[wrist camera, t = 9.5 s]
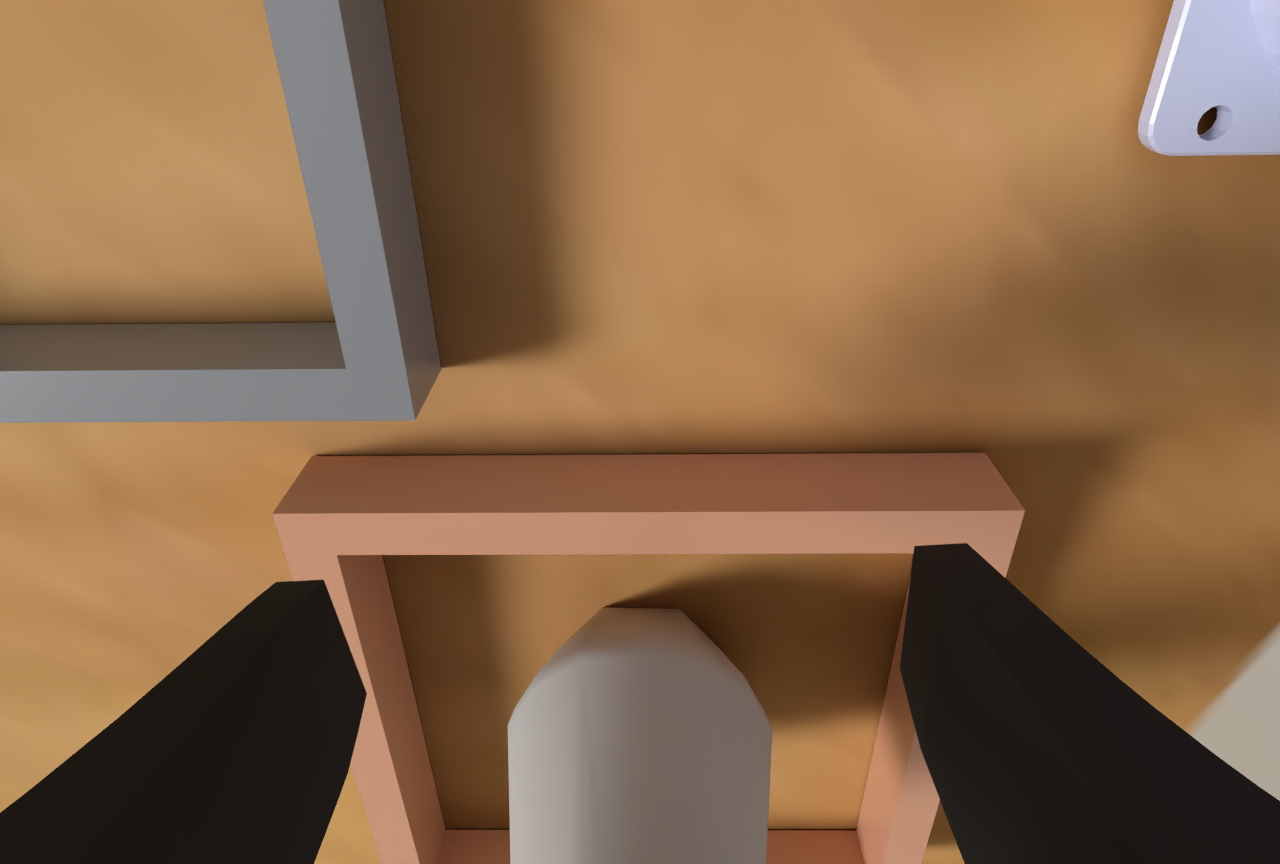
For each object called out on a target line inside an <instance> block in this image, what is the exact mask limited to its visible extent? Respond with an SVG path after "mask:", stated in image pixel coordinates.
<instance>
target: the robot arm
mask: <svg viewBox="0 0 1280 864" xmlns="http://www.w3.org/2000/svg"><path fill="white" fill-rule="evenodd" d="M1211 107H1216V108H1217V119H1216V120H1215V122H1214V124H1213V125H1212V127H1211V128H1210V129H1209V130H1207V131H1206V132H1205V133H1204V134H1201V135H1198V133H1197V125H1198V122H1199V120H1200V118H1201V117H1202V115H1203V114H1204V113H1205V112H1206V111H1208V110H1209V109H1210V108H1211ZM1138 135H1139V138H1140V141H1141V143H1142V144H1143V145H1144V146H1145V147H1147V148H1148V149H1149V150H1151V151H1154V152H1157V153H1159V154H1164V155H1169V156H1203V155H1280V0H1174V2H1173V6H1172V9H1171V13H1170V16H1169V19H1168V23H1167V26H1166V30H1165V33H1164V36H1163V40H1162V43H1161V47H1160V50H1159V53H1158V57H1157V60H1156V64H1155V67H1154V70H1153V74H1152V77H1151V81H1150V84H1149V88H1148V91H1147V94H1146V98H1145V101H1144V105H1143V108H1142V111H1141V115H1140V118H1139V124H1138ZM900 671H901V675H902V679H903V683H904V687H905V691H906V695H907V699H908V703H909V707H910V711H911V715H912V719H913V723H914V726H915V730H916V734H917V737H918V741H919V745H920V748H921V751H922V754H923V756H924V759H925V762H926V764H927V767H928V770H929V772H930V775H931V778H932V780H933V783H934V785H935V788H936V791H937V793H938V796H939V798H940V801H941V804H942V806H943V809H944V811H945V814H946V817H947V819H948V822H949V824H950V827H951V829H952V832H953V835H954V837H955V840H956V842H957V845H958V847H959V850H960V852H961V855H962V858H963V860H964V863H965V864H1280V801H1279V800H1277V799H1276V798H1274V797H1273V796H1271V795H1270V794H1268V793H1267V792H1266V791H1264V790H1263V789H1261V788H1260V787H1258V786H1257V785H1256V784H1254V783H1253V782H1252V781H1250V780H1249V779H1247V778H1246V777H1245V776H1243V775H1242V774H1241V773H1239V772H1238V771H1237V770H1235V769H1234V768H1232V767H1231V766H1230V765H1228V764H1227V763H1225V762H1224V761H1223V760H1222V759H1220V758H1219V757H1218V756H1216V755H1215V754H1214V753H1212V752H1211V751H1210V750H1208V749H1207V748H1205V746H1203V745H1202V744H1201V743H1199V742H1198V741H1197V740H1195V739H1194V738H1193V737H1192V736H1190V735H1189V734H1188V733H1186V732H1185V731H1184V730H1183V729H1181V728H1180V727H1179V726H1177V725H1176V724H1175V723H1174V722H1172V721H1171V720H1170V719H1168V718H1167V717H1166V716H1165V715H1163V714H1162V713H1161V712H1159V711H1158V710H1157V709H1156V708H1154V707H1153V706H1152V705H1151V704H1149V703H1148V702H1147V701H1146V700H1144V699H1143V698H1142V697H1141V696H1140V695H1138V694H1137V693H1136V692H1135V691H1133V690H1132V689H1131V688H1130V687H1129V686H1127V685H1126V684H1125V683H1124V682H1122V681H1121V680H1120V679H1119V678H1118V677H1117V676H1115V675H1114V674H1113V673H1112V672H1111V671H1110V670H1108V669H1107V668H1106V667H1105V666H1104V665H1103V664H1101V663H1100V662H1099V661H1098V660H1097V659H1096V658H1094V657H1093V656H1092V655H1091V654H1090V653H1088V652H1087V651H1086V650H1085V649H1084V648H1083V647H1081V646H1080V645H1079V644H1078V643H1077V642H1076V641H1075V640H1073V639H1072V638H1071V637H1070V636H1069V635H1068V634H1067V633H1066V632H1064V631H1063V630H1062V629H1061V628H1060V627H1059V626H1058V625H1056V624H1055V623H1054V622H1053V621H1052V620H1051V619H1050V618H1049V617H1048V616H1047V615H1045V614H1044V613H1043V612H1042V611H1041V610H1040V609H1039V608H1038V607H1037V606H1035V605H1034V604H1033V603H1032V602H1031V601H1030V600H1029V599H1028V598H1027V597H1026V596H1024V595H1023V594H1022V593H1021V592H1020V591H1019V590H1018V589H1017V588H1016V587H1015V586H1013V585H1012V584H1011V583H1010V582H1009V581H1008V580H1007V579H1006V578H1005V577H1004V576H1003V575H1001V574H1000V573H999V572H998V571H997V570H996V569H995V568H994V567H993V566H992V565H990V564H989V563H988V562H987V561H986V560H985V559H984V558H983V557H982V556H981V555H980V554H978V553H977V552H976V551H975V550H974V549H973V548H972V547H971V546H970V545H968V544H967V543H958V544H940V545H923V546H914V553H913V562H912V570H911V578H910V586H909V594H908V603H907V611H906V619H905V627H904V636H903V644H902V652H901V660H900ZM366 696H367V693H366V690H365V687H364V685H363V682H362V679H361V677H360V674H359V671H358V669H357V666H356V663H355V661H354V658H353V656H352V653H351V650H350V648H349V645H348V642H347V640H346V637H345V634H344V632H343V629H342V626H341V624H340V621H339V619H338V616H337V613H336V611H335V608H334V605H333V603H332V600H331V597H330V595H329V592H328V589H327V587H326V584H325V582H324V580H307V581H289V582H276V583H275V584H273V585H272V586H271V587H270V588H268V589H267V590H266V591H264V592H263V593H262V594H261V595H259V596H258V597H257V598H256V599H255V600H253V601H252V602H251V603H250V604H249V605H248V606H246V607H245V608H244V609H243V610H242V611H241V612H239V613H238V614H237V615H236V616H235V617H234V618H233V619H231V620H230V621H229V622H228V623H227V624H226V625H224V626H223V627H222V628H221V629H220V630H219V631H218V632H217V633H215V634H214V635H213V636H212V637H211V638H210V639H209V640H207V641H206V642H205V643H204V644H203V645H202V646H201V647H199V648H198V649H197V650H196V651H195V652H194V653H193V654H192V655H190V656H189V657H188V658H187V659H186V660H185V661H184V662H182V663H181V664H180V665H179V666H178V667H177V668H176V669H174V670H173V671H172V672H171V673H170V674H169V675H167V676H166V677H165V678H164V679H163V680H162V681H161V682H159V683H158V684H157V685H156V686H155V687H154V688H152V689H151V690H150V691H149V692H148V693H147V694H146V695H144V696H143V697H142V698H141V699H140V700H139V701H137V702H136V703H135V704H134V705H133V706H132V707H131V708H129V709H128V710H127V711H126V712H125V713H124V714H122V715H121V716H120V717H119V718H118V719H117V720H115V721H114V722H113V723H112V724H110V725H109V726H108V727H107V728H105V729H104V730H103V731H102V732H101V733H99V734H98V735H97V736H96V737H94V738H93V739H92V740H91V741H89V742H88V743H87V744H86V745H85V746H83V747H82V748H81V749H80V750H78V751H77V752H76V753H75V754H73V755H72V756H71V757H70V758H69V759H67V760H66V761H65V762H64V763H62V764H61V765H60V766H59V767H57V768H56V769H55V770H54V771H53V772H51V773H50V774H49V775H48V776H46V777H45V778H44V779H43V780H41V781H40V782H39V783H38V784H37V785H35V786H34V787H33V788H32V789H30V790H29V791H28V792H27V793H25V794H24V795H23V796H22V797H20V798H19V799H18V800H16V801H15V802H14V803H13V804H11V805H10V806H9V807H7V808H6V809H5V810H3V811H2V812H1V813H0V864H314V862H315V859H316V856H317V854H318V851H319V849H320V846H321V843H322V841H323V838H324V836H325V833H326V830H327V828H328V825H329V822H330V820H331V817H332V814H333V812H334V809H335V806H336V804H337V801H338V798H339V796H340V793H341V790H342V787H343V785H344V782H345V779H346V776H347V774H348V770H349V766H350V762H351V758H352V755H353V751H354V747H355V743H356V739H357V735H358V731H359V726H360V722H361V718H362V713H363V709H364V704H365V700H366Z"/></svg>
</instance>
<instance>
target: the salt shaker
mask: <svg viewBox="0 0 1280 864" xmlns="http://www.w3.org/2000/svg"><path fill="white" fill-rule="evenodd" d="M771 744H772V730H771V727H770V724H769V721H768V718H767V716H766V713H765V711H764V709H763V707H762V706H761V704H760V702H759V700H758V699H757V697H756V695H755V694H754V692H753V690H752V689H751V687H750V685H749V684H748V682H747V680H746V678H745V677H744V675H743V674H742V673H741V672H740V671H739V670H738V669H737V668H736V667H735V666H734V665H733V664H732V662H731V661H730V660H729V659H728V658H727V657H726V655H725V654H724V652H723V651H722V650H721V649H720V648H719V647H718V646H717V645H716V644H715V643H714V642H713V641H712V640H711V639H710V638H709V637H708V636H707V635H706V634H705V633H704V632H703V631H702V630H701V629H700V628H699V627H698V626H697V625H696V624H695V623H694V622H693V621H692V620H691V619H690V618H689V617H688V616H687V615H686V614H685V613H684V612H683V611H682V610H681V609H663V608H611V607H603V608H602V609H601V610H600V611H599V612H598V613H597V614H596V615H594V616H593V617H592V618H591V619H590V620H589V621H588V622H587V623H586V624H585V625H584V626H583V627H582V628H580V629H579V630H578V631H577V632H576V633H575V634H574V635H573V636H572V637H571V638H570V639H569V640H567V641H566V642H565V643H564V644H563V645H562V646H561V647H560V648H559V649H558V650H557V651H556V652H555V654H554V655H553V656H552V658H551V659H550V660H549V661H548V662H547V663H546V664H545V665H544V666H543V667H542V668H541V669H540V670H539V671H538V673H537V674H536V676H535V677H534V679H533V680H532V682H531V683H530V685H529V686H528V688H527V689H526V691H525V692H524V694H523V696H522V697H521V699H520V700H519V702H518V703H517V705H516V706H515V708H514V711H513V714H512V716H511V719H510V721H509V724H508V766H509V815H510V864H766V854H767V832H768V810H769V788H770V766H771Z"/></svg>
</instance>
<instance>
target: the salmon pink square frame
mask: <svg viewBox="0 0 1280 864" xmlns="http://www.w3.org/2000/svg"><path fill="white" fill-rule="evenodd" d="M1024 513H1025V510H1024V508H1023V507H1022V505H1021V504H1020V502H1019V501H1018V499H1017V498H1016V496H1015V495H1014V494H1013V492H1012V491H1011V489H1010V488H1009V486H1008V485H1007V483H1006V482H1005V480H1004V479H1003V478H1002V476H1001V475H1000V473H999V472H998V470H997V469H996V467H995V466H994V464H993V463H992V461H991V460H990V459H989V457H988V456H987V454H986V453H837V454H646V455H454V456H312V457H311V458H310V460H309V461H308V462H307V464H306V465H305V467H304V468H303V470H302V471H301V473H300V474H299V476H298V477H297V479H296V480H295V481H294V483H293V484H292V486H291V487H290V489H289V490H288V492H287V493H286V495H285V496H284V498H283V499H282V501H281V502H280V503H279V505H278V506H277V508H276V509H275V511H274V512H273V517H274V520H275V523H276V527H277V530H278V533H279V536H280V539H281V543H282V546H283V549H284V552H285V555H286V559H287V562H288V565H289V568H290V572H291V575H292V578H293V581H307V580H324V582H325V584H326V587H327V589H328V592H329V595H330V597H331V600H332V603H333V605H334V608H335V611H336V613H337V616H338V619H339V621H340V624H341V626H342V629H343V632H344V634H345V637H346V640H347V642H348V645H349V648H350V650H351V653H352V656H353V658H354V661H355V663H356V666H357V669H358V671H359V674H360V677H361V679H362V682H363V685H364V687H365V690H366V693H367V696H366V700H365V704H364V709H363V713H362V718H361V722H360V726H359V731H358V735H357V739H356V743H355V747H354V751H353V755H352V758H351V762H350V764H351V767H352V771H353V774H354V777H355V780H356V783H357V787H358V790H359V793H360V796H361V800H362V803H363V806H364V809H365V812H366V816H367V819H368V822H369V825H370V828H371V832H372V835H373V838H374V841H375V844H376V848H377V851H378V854H379V857H380V861H381V864H510V830H445V825H444V821H443V817H442V812H441V808H440V804H439V799H438V795H437V791H436V786H435V782H434V778H433V773H432V769H431V765H430V760H429V756H428V752H427V747H426V743H425V739H424V734H423V730H422V726H421V721H420V717H419V713H418V708H417V704H416V700H415V695H414V691H413V687H412V682H411V678H410V674H409V669H408V665H407V661H406V656H405V652H404V648H403V643H402V639H401V635H400V630H399V626H398V622H397V617H396V613H395V609H394V604H393V600H392V596H391V591H390V587H389V583H388V578H387V574H386V570H385V565H384V561H383V557H382V555H526V554H824V553H914V546H923V545H940V544H958V543H967V544H968V545H970V546H971V547H972V548H973V549H974V550H975V551H976V552H977V553H978V554H980V555H981V556H982V557H983V558H984V559H985V560H986V561H987V562H988V563H989V564H990V565H992V566H993V567H994V568H995V569H996V570H997V571H998V572H999V573H1000V574H1001V575H1003V576H1004V577H1005V578H1006V574H1007V571H1008V567H1009V564H1010V561H1011V557H1012V554H1013V550H1014V547H1015V544H1016V540H1017V537H1018V533H1019V530H1020V527H1021V523H1022V520H1023V516H1024ZM910 578H911V576H910ZM909 586H910V581H909ZM909 586H908V590H907V595H906V600H905V604H904V609H903V614H902V618H901V623H900V628H899V632H898V637H897V642H896V646H895V651H894V656H893V661H892V665H891V670H890V675H889V679H888V684H887V689H886V693H885V698H884V703H883V707H882V712H881V717H880V721H879V726H878V731H877V736H876V740H875V745H874V750H873V754H872V759H871V764H870V768H869V773H868V778H867V782H866V787H865V792H864V796H863V801H862V806H861V810H860V815H859V820H858V825H857V829H856V831H849V830H768V832H767V854H766V864H921V863H922V860H923V856H924V853H925V849H926V846H927V843H928V839H929V836H930V832H931V829H932V826H933V822H934V819H935V815H936V812H937V809H938V805H939V802H940V798H939V796H938V793H937V791H936V788H935V785H934V783H933V780H932V778H931V775H930V772H929V770H928V767H927V764H926V762H925V759H924V756H923V754H922V751H921V748H920V745H919V741H918V737H917V734H916V730H915V726H914V723H913V719H912V715H911V711H910V707H909V703H908V699H907V695H906V691H905V687H904V683H903V679H902V675H901V671H900V660H901V652H902V644H903V636H904V627H905V619H906V611H907V603H908V594H909Z"/></svg>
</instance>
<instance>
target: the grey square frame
mask: <svg viewBox="0 0 1280 864" xmlns="http://www.w3.org/2000/svg"><path fill="white" fill-rule="evenodd" d="M263 3H264V7H265V12H266V16H267V21H268V25H269V29H270V34H271V38H272V43H273V47H274V52H275V56H276V60H277V65H278V69H279V74H280V78H281V83H282V87H283V91H284V96H285V100H286V105H287V109H288V114H289V118H290V122H291V127H292V131H293V136H294V140H295V145H296V149H297V153H298V158H299V162H300V167H301V171H302V176H303V180H304V184H305V189H306V193H307V198H308V202H309V207H310V211H311V215H312V220H313V224H314V229H315V233H316V238H317V242H318V246H319V251H320V255H321V260H322V264H323V269H324V273H325V277H326V282H327V286H328V291H329V295H330V300H331V304H332V308H333V313H334V317H335V322H317V323H188V324H58V325H0V423H30V422H200V421H370V420H415V419H416V417H417V415H418V413H419V412H420V410H421V408H422V406H423V404H424V402H425V400H426V398H427V396H428V394H429V392H430V390H431V388H432V386H433V384H434V382H435V380H436V378H437V376H438V374H439V372H440V370H441V365H440V359H439V352H438V346H437V340H436V333H435V327H434V321H433V314H432V308H431V302H430V295H429V289H428V283H427V276H426V270H425V263H424V257H423V251H422V244H421V238H420V232H419V225H418V219H417V213H416V206H415V200H414V193H413V187H412V181H411V174H410V168H409V162H408V155H407V149H406V143H405V136H404V130H403V124H402V117H401V111H400V104H399V98H398V92H397V85H396V79H395V73H394V66H393V60H392V54H391V47H390V41H389V35H388V28H387V22H386V15H385V9H384V3H383V0H263Z"/></svg>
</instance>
